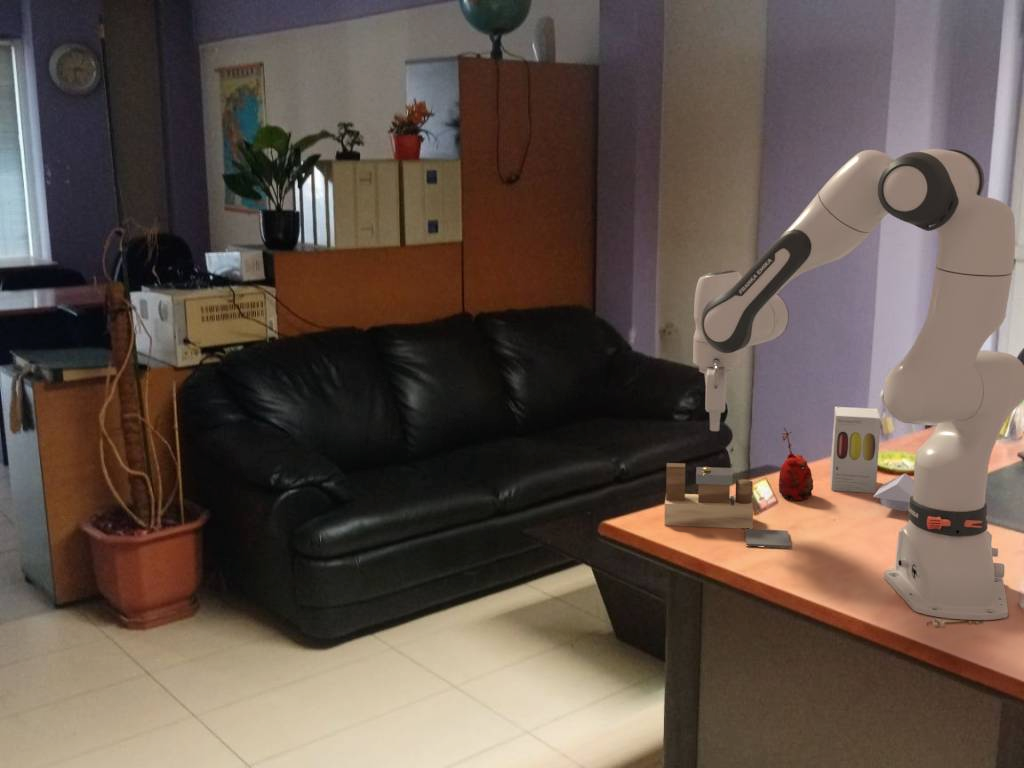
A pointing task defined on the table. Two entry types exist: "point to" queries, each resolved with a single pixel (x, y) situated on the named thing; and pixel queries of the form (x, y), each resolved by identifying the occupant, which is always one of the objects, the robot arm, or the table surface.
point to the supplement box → (855, 449)
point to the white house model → (896, 493)
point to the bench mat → (767, 538)
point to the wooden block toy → (706, 503)
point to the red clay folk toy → (795, 476)
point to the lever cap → (714, 476)
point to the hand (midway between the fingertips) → (714, 423)
